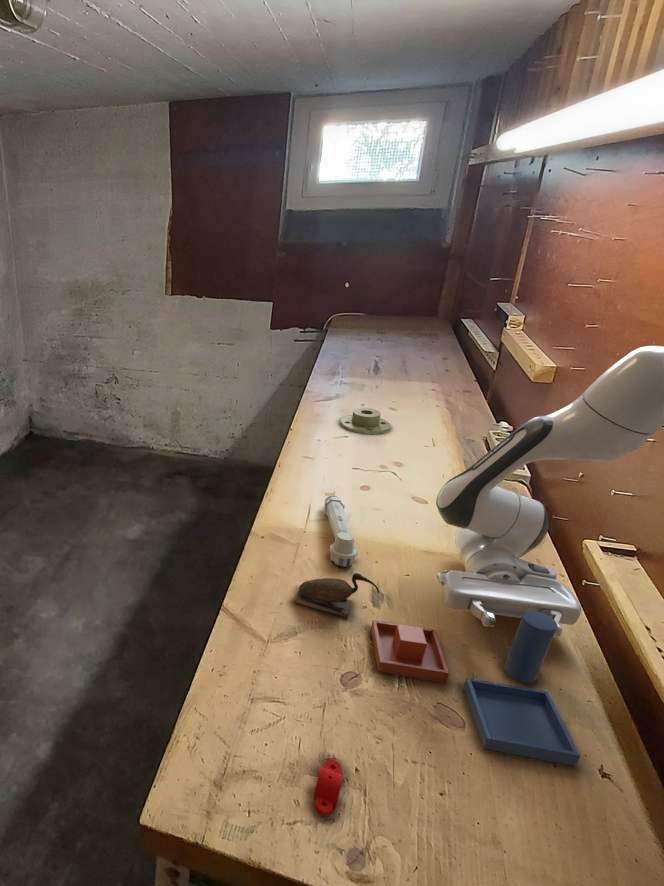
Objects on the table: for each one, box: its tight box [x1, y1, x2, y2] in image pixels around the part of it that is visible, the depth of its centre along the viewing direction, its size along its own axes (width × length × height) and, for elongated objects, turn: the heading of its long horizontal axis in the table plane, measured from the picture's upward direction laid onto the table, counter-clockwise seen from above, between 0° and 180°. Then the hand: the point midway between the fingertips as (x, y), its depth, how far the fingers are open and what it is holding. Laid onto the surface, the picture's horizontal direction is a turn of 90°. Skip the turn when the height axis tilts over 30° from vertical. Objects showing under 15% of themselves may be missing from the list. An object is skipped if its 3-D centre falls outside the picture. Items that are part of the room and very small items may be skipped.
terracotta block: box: [393, 623, 427, 662], centre depth 94 cm, size 4×4×4 cm
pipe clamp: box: [313, 758, 344, 816], centre depth 74 cm, size 8×3×2 cm, turn 151°
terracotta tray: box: [370, 619, 450, 684], centre depth 95 cm, size 10×10×2 cm
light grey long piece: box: [323, 495, 358, 567], centre depth 127 cm, size 5×7×25 cm
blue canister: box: [503, 611, 557, 684], centre depth 89 cm, size 4×4×11 cm
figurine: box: [294, 572, 380, 619], centre depth 105 cm, size 14×4×9 cm, turn 61°
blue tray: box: [462, 677, 581, 767], centre depth 82 cm, size 11×11×2 cm
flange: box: [340, 407, 391, 435], centre depth 185 cm, size 5×15×15 cm
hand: (522, 628), depth 92 cm, fingers open, 8 cm apart
